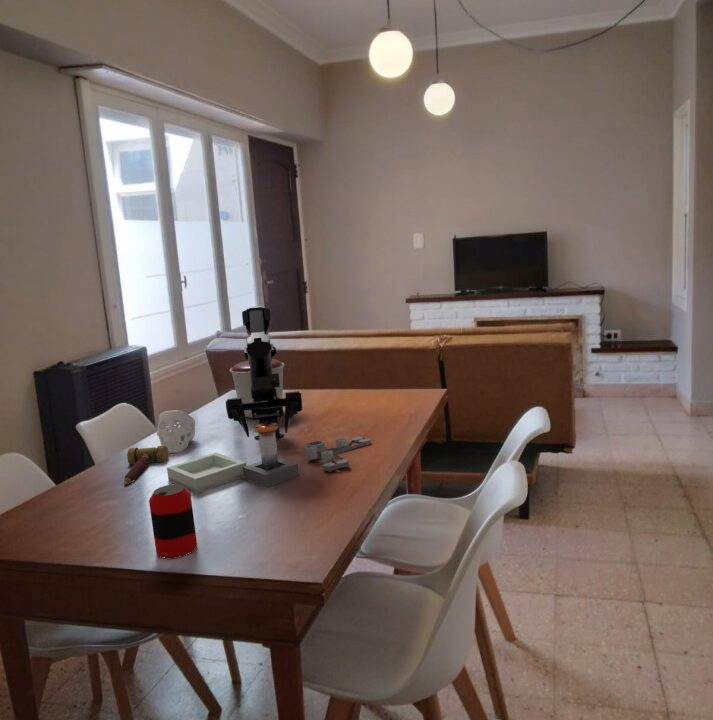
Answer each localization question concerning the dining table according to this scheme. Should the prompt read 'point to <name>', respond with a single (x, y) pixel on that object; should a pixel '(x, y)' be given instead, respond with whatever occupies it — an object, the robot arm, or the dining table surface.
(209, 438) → the dining table surface
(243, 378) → the canister
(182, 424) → the skull bowl
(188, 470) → the tray
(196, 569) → the dining table surface
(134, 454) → the gavel
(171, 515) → the soda can
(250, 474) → the pin socket
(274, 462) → the pin
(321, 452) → the pulley system
